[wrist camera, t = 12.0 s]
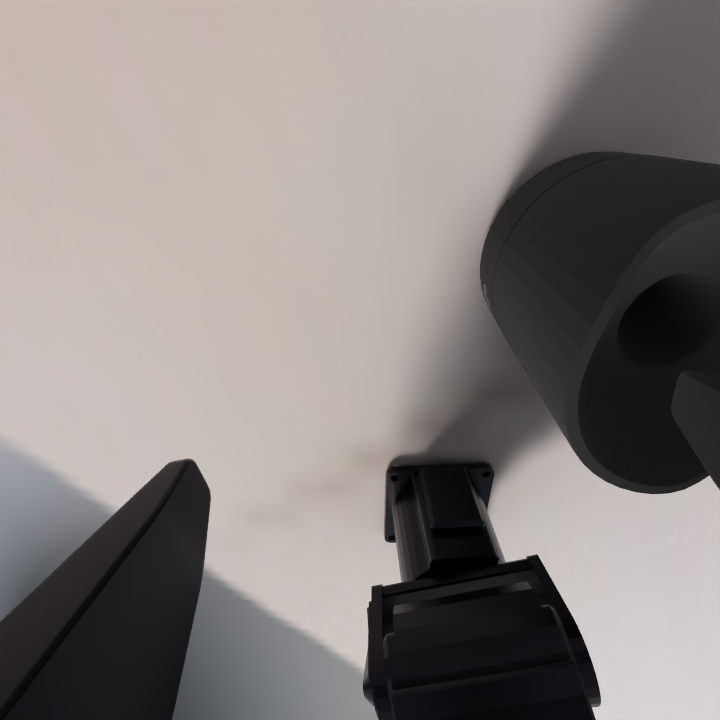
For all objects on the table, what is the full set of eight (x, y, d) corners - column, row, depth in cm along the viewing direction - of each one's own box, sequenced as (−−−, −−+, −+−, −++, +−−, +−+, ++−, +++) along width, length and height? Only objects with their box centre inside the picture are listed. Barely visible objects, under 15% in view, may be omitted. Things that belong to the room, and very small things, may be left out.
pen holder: (500, 125, 17) (662, 158, 9) (718, 153, 18) (1054, 209, 10) (448, 336, 22) (521, 489, 14) (623, 349, 23) (792, 501, 15)
